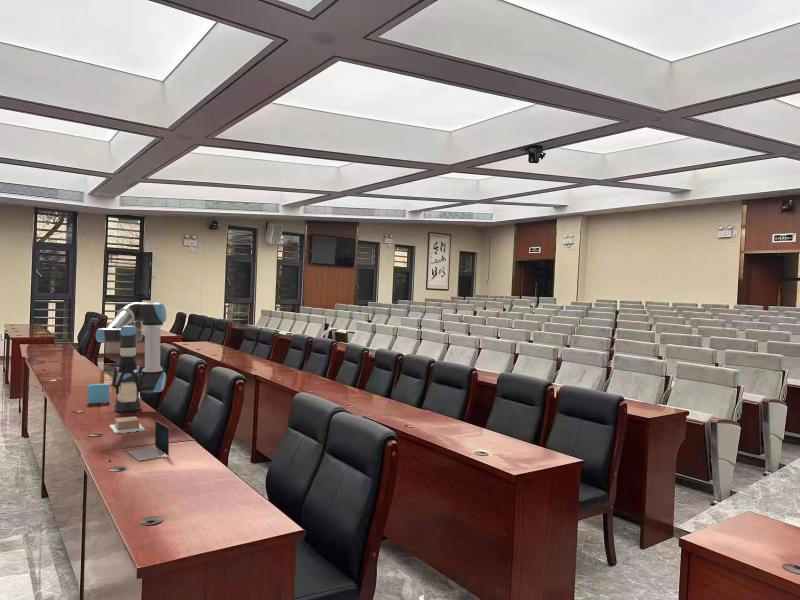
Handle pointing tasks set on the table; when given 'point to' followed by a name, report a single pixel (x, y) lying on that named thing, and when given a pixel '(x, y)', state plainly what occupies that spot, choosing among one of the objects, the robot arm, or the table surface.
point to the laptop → (160, 445)
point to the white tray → (126, 425)
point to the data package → (98, 393)
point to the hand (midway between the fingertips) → (127, 399)
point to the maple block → (127, 392)
